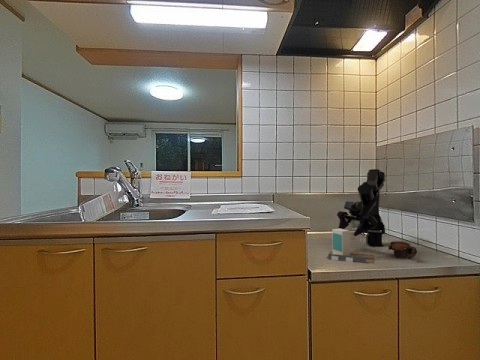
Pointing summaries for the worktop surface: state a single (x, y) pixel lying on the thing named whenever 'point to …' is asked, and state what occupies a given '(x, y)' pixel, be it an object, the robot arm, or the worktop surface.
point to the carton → (341, 241)
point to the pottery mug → (402, 250)
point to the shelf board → (368, 257)
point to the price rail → (347, 258)
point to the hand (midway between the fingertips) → (346, 233)
